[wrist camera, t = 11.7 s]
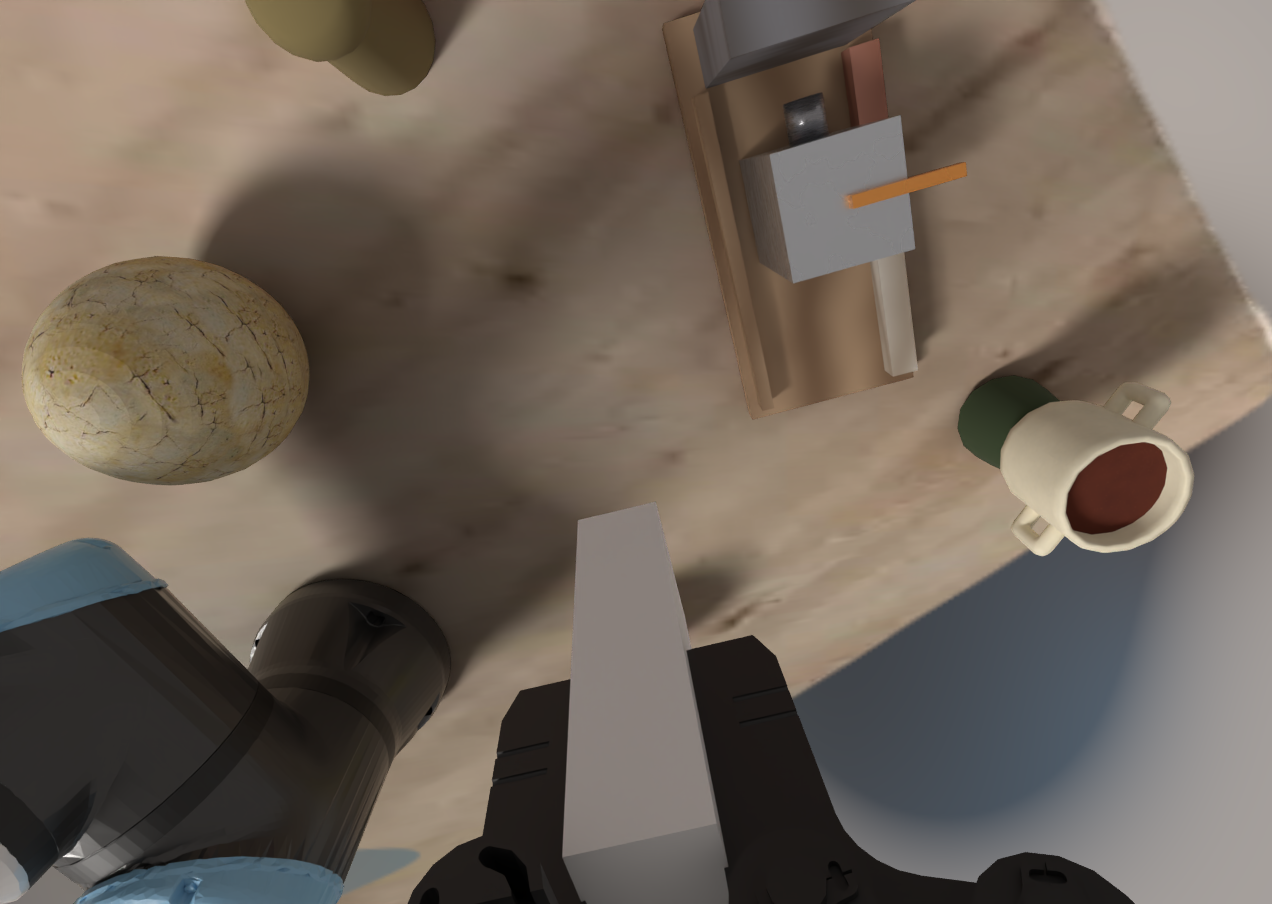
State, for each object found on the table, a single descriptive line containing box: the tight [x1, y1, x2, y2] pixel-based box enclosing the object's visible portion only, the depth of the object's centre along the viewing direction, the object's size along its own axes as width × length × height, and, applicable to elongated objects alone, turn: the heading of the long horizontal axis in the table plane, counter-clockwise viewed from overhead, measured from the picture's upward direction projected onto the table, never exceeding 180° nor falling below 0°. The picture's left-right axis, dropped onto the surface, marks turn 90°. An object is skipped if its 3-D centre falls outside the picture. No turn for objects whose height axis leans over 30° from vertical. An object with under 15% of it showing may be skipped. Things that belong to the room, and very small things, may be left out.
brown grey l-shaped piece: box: [662, 0, 918, 419], centre depth 36 cm, size 11×24×12 cm, turn 16°
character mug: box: [958, 375, 1194, 556], centre depth 40 cm, size 11×7×13 cm, turn 155°
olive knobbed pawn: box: [245, 0, 435, 96], centre depth 32 cm, size 6×6×11 cm
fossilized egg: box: [22, 256, 309, 485], centre depth 37 cm, size 13×13×15 cm
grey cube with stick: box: [739, 92, 967, 283], centre depth 34 cm, size 8×8×10 cm
